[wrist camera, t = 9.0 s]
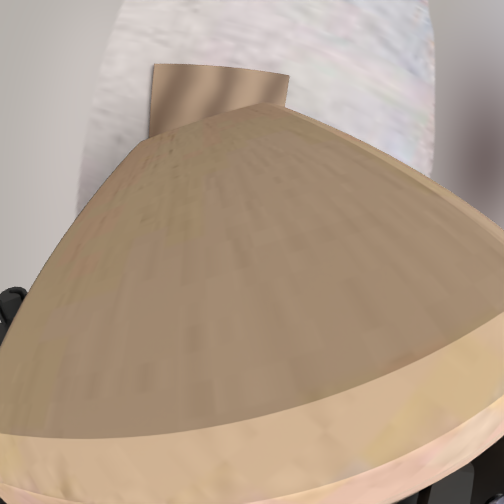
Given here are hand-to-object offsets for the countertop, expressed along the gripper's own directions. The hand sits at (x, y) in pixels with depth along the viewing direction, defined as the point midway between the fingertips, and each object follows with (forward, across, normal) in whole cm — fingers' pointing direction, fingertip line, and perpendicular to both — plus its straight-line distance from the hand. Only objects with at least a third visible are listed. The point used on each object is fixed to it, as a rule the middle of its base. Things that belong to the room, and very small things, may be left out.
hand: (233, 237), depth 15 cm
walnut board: (+30, 0, 0) cm, 30 cm away
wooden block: (+8, 0, 0) cm, 8 cm away
